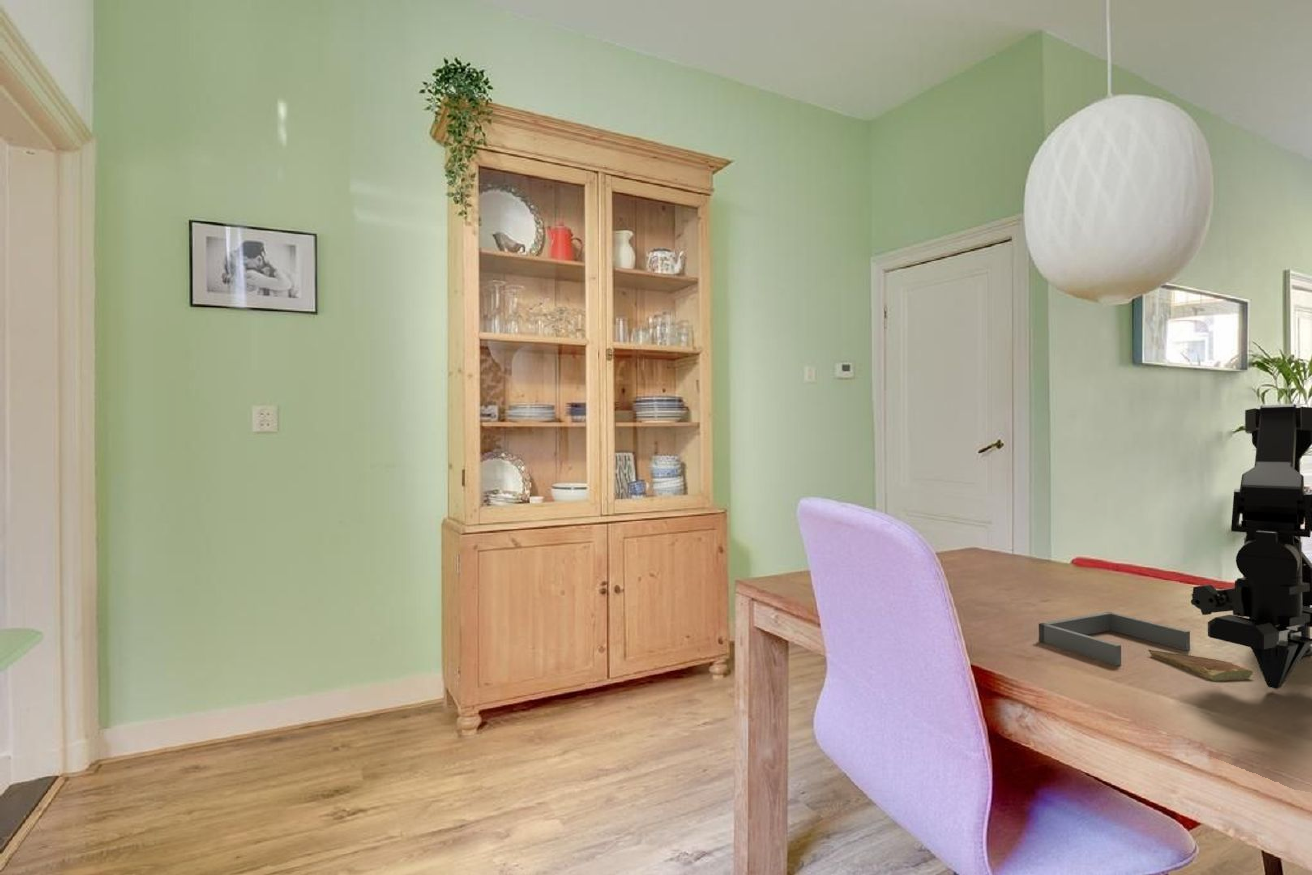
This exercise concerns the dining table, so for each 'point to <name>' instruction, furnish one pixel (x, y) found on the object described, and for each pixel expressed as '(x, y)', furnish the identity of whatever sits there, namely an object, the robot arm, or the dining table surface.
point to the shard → (1204, 666)
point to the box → (1076, 630)
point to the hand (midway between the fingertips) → (1273, 687)
